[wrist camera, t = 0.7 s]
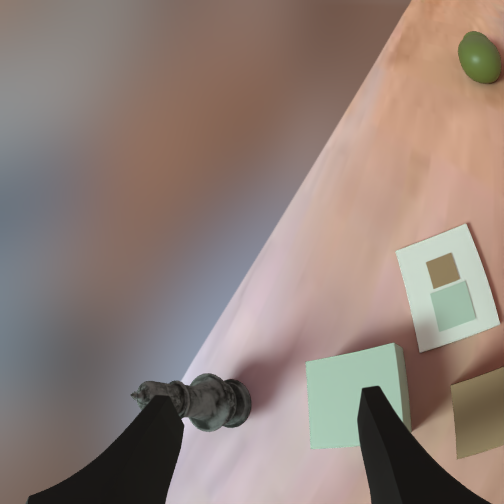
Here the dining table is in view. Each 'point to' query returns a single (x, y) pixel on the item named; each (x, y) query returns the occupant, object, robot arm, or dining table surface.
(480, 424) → the walnut block
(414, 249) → the card
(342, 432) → the base block
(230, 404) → the dark green chess piece
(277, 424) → the dining table surface
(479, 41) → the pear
